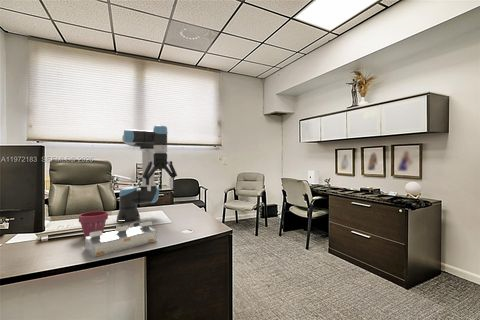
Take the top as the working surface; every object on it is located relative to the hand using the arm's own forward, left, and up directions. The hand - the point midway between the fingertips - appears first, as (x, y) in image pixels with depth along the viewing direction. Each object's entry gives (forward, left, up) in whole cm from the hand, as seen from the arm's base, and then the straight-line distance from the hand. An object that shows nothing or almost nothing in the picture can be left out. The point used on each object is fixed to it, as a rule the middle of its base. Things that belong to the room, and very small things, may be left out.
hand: (160, 189), depth 135 cm
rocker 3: (-1, -8, -18) cm, 20 cm away
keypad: (-20, -4, -27) cm, 35 cm away
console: (-1, -20, -27) cm, 34 cm away
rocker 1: (-1, -32, -18) cm, 37 cm away
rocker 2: (-1, -20, -18) cm, 28 cm away
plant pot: (-28, -27, -27) cm, 47 cm away
